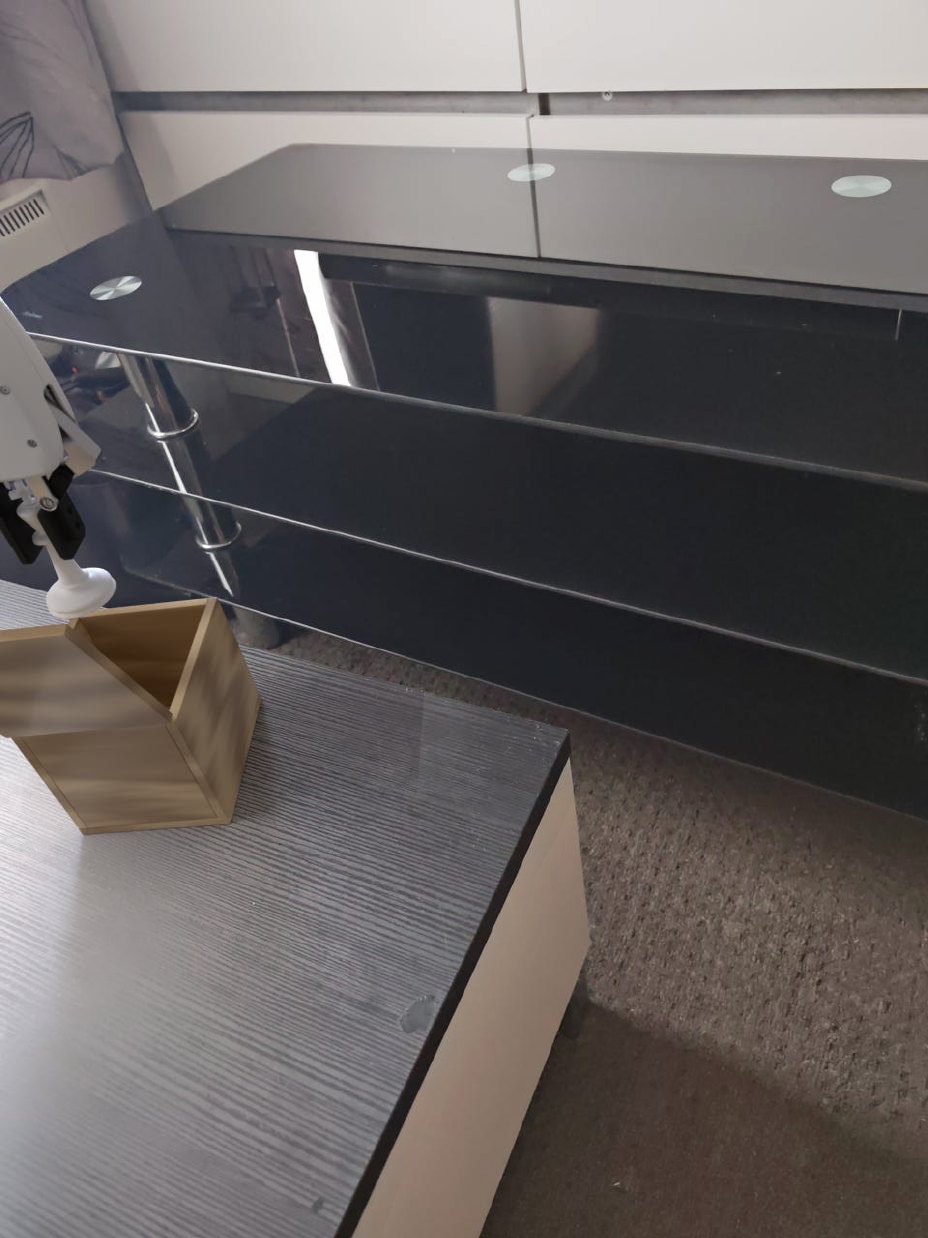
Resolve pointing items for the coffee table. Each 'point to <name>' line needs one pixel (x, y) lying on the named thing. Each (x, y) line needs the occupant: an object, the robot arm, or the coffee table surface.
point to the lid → (66, 686)
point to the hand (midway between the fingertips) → (54, 548)
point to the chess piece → (65, 569)
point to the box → (158, 754)
